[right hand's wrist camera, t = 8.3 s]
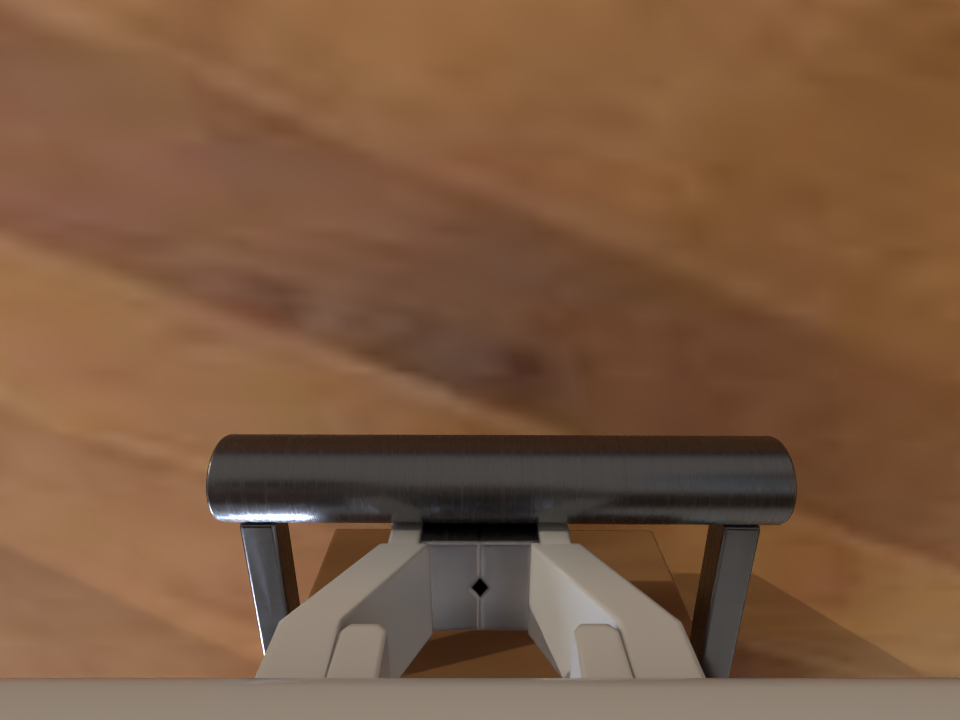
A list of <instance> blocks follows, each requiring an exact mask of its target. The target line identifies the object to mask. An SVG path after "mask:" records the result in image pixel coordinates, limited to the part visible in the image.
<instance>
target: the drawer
mask: <svg viewBox="0 0 960 720" xmlns="http://www.w3.org/2000/svg"><path fill="white" fill-rule="evenodd" d="M206 494H207V502H208V506H209V509H210V511H211V513H212V515H213V516H214V518H216V519H217V520H219V521H221V522H241V525H240V529H241V535H242V540H243V546H244V551H245V556H246V562H247V567H248V573H249V578H250V583H251V589H252V594H253V600H254V605H255V610H256V616H257V621H258V627H259V632H260V637H261V643H262V648H263V654H264V655H265V653H266V651H267V648H268V646H269V644H270V642H271V639H272V637H273V635H274V633H275V630H276V628H277V626H278V623H279V621H281V620H282V619H283V618H284V617H286V616H287V615H288V614H290V613H291V612H292V611H293V610H295V609H296V608H297V607H299V606H300V601H299V594H298V588H297V581H296V574H295V567H294V561H293V554H292V547H291V541H290V534H289V527H288V522H318V523H505V524H693V525H709V528H708V534H707V540H706V546H705V552H704V558H703V564H702V569H701V575H700V581H699V587H698V593H697V599H696V605H695V610H694V616H693V622H692V621H691V619H690V617H689V614H688V612H687V610H686V607H685V605H684V603H683V601H682V598H681V596H680V594H679V591H678V589H677V587H676V585H675V582H674V580H673V578H672V576H671V573H670V571H669V569H668V566H667V564H666V562H665V560H664V557H663V555H662V553H661V550H660V548H659V546H658V544H657V541H656V539H655V537H654V534H653V532H652V531H611V530H569V532H570V536H571V540H572V543H580V544H581V545H583V546H584V547H585V548H586V549H588V550H589V551H590V552H592V553H593V554H594V555H595V556H597V557H598V558H599V559H601V560H602V561H603V562H604V563H606V564H607V565H608V566H610V567H611V568H612V569H614V570H615V571H616V572H617V573H619V574H620V575H621V576H623V577H624V578H625V579H626V580H628V581H629V582H630V583H632V584H633V585H634V586H635V587H637V588H638V589H639V590H641V591H642V592H643V593H644V594H646V595H647V596H648V597H650V598H651V599H652V600H653V601H655V602H656V603H657V604H659V605H660V606H661V607H663V608H664V609H665V610H666V611H668V612H669V613H670V614H672V615H673V616H674V617H675V618H677V619H678V620H679V621H681V622H682V625H683V627H684V629H685V631H686V634H687V636H688V638H689V641H690V643H691V645H692V648H693V650H694V652H695V654H696V657H697V659H698V661H699V664H700V666H701V668H702V671H703V673H704V675H705V678H729V675H730V670H731V666H732V661H733V656H734V651H735V647H736V642H737V637H738V632H739V628H740V623H741V618H742V613H743V609H744V604H745V599H746V594H747V590H748V585H749V580H750V575H751V571H752V566H753V561H754V556H755V552H756V547H757V542H758V537H759V533H760V527H759V525H780V524H782V523H785V522H786V521H787V520H788V519H789V518H790V516H791V515H792V513H793V510H794V507H795V503H796V495H797V485H796V475H795V470H794V466H793V463H792V460H791V458H790V455H789V453H788V451H787V450H786V448H785V447H784V445H783V444H782V443H781V442H780V441H779V440H777V439H776V438H773V437H770V436H591V435H301V434H230V435H228V436H225V437H224V438H222V439H221V440H220V441H219V443H218V444H217V446H216V447H215V449H214V451H213V454H212V456H211V459H210V462H209V466H208V472H207V479H206ZM390 533H391V529H337V530H336V531H335V533H334V536H333V538H332V541H331V543H330V545H329V548H328V550H327V553H326V555H325V558H324V560H323V563H322V565H321V568H320V570H319V573H318V575H317V578H316V580H315V583H314V585H313V588H312V590H311V593H310V595H309V598H310V597H312V596H313V595H314V594H315V593H317V592H318V591H319V590H321V589H322V588H323V587H325V586H326V585H327V584H328V583H330V582H331V581H332V580H334V579H335V578H336V577H338V576H339V575H340V574H341V573H343V572H344V571H345V570H347V569H348V568H349V567H350V566H352V565H353V564H354V563H356V562H357V561H358V560H360V559H361V558H362V557H363V556H365V555H366V554H367V553H369V552H370V551H371V550H372V549H374V548H375V547H376V546H378V545H379V544H381V543H388V541H389V537H390ZM309 598H308V599H309ZM400 678H561V677H560V676H559V675H558V673H557V672H556V671H555V669H554V668H553V667H552V665H551V664H550V663H549V661H548V660H547V659H546V657H545V656H544V655H543V653H542V652H541V651H540V649H539V648H538V646H537V645H536V644H535V642H534V641H533V640H532V638H531V637H530V636H529V634H528V631H498V630H461V631H432V635H431V637H430V638H429V639H428V641H427V642H426V643H425V645H424V646H423V647H422V649H421V650H420V651H419V653H418V654H417V655H416V657H415V658H414V659H413V661H412V662H411V663H410V665H409V666H408V667H407V669H406V670H405V671H404V673H403V674H402V675H401V677H400Z"/></svg>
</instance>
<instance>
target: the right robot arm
mask: <svg viewBox="0 0 960 720" xmlns="http://www.w3.org/2000/svg"><path fill="white" fill-rule="evenodd" d="M461 630H498V631H528V634H529V636H530V637H531V638H532V640H533V641H534V642H535V644H536V645H537V646H538V648H539V649H540V651H541V652H542V653H543V655H544V656H545V657H546V659H547V660H548V661H549V663H550V664H551V665H552V667H553V668H554V669H555V671H556V672H557V673H558V675H559V676H560V677H561V678H400V677H401V675H402V674H403V673H404V671H405V670H406V669H407V667H408V666H409V665H410V663H411V662H412V661H413V659H414V658H415V657H416V655H417V654H418V653H419V651H420V650H421V649H422V647H423V646H424V645H425V643H426V642H427V641H428V639H429V638H430V637H431V635H432V631H461ZM0 720H960V678H705V675H704V673H703V671H702V668H701V666H700V664H699V661H698V659H697V657H696V654H695V652H694V650H693V648H692V645H691V643H690V641H689V638H688V636H687V634H686V631H685V629H684V627H683V625H682V622H681V621H679V620H678V619H677V618H675V617H674V616H673V615H672V614H670V613H669V612H668V611H666V610H665V609H664V608H663V607H661V606H660V605H659V604H657V603H656V602H655V601H653V600H652V599H651V598H650V597H648V596H647V595H646V594H644V593H643V592H642V591H641V590H639V589H638V588H637V587H635V586H634V585H633V584H632V583H630V582H629V581H628V580H626V579H625V578H624V577H623V576H621V575H620V574H619V573H617V572H616V571H615V570H614V569H612V568H611V567H610V566H608V565H607V564H606V563H604V562H603V561H602V560H601V559H599V558H598V557H597V556H595V555H594V554H593V553H592V552H590V551H589V550H588V549H586V548H585V547H584V546H583V545H581V544H580V543H572V540H571V536H570V532H569V528H568V524H505V523H393V525H392V529H391V533H390V537H389V541H388V543H381V544H379V545H378V546H376V547H375V548H374V549H372V550H371V551H370V552H369V553H367V554H366V555H365V556H363V557H362V558H361V559H360V560H358V561H357V562H356V563H354V564H353V565H352V566H350V567H349V568H348V569H347V570H345V571H344V572H343V573H341V574H340V575H339V576H338V577H336V578H335V579H334V580H332V581H331V582H330V583H328V584H327V585H326V586H325V587H323V588H322V589H321V590H319V591H318V592H317V593H315V594H314V595H313V596H312V597H310V598H309V599H308V600H306V601H305V602H304V603H303V604H301V605H300V606H299V607H297V608H296V609H295V610H293V611H292V612H291V613H290V614H288V615H287V616H286V617H284V618H283V619H282V620H281V621H279V623H278V626H277V628H276V630H275V633H274V635H273V637H272V639H271V642H270V644H269V646H268V648H267V651H266V653H265V655H264V658H263V660H262V662H261V664H260V667H259V669H258V671H257V673H256V676H255V678H0Z"/></svg>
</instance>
